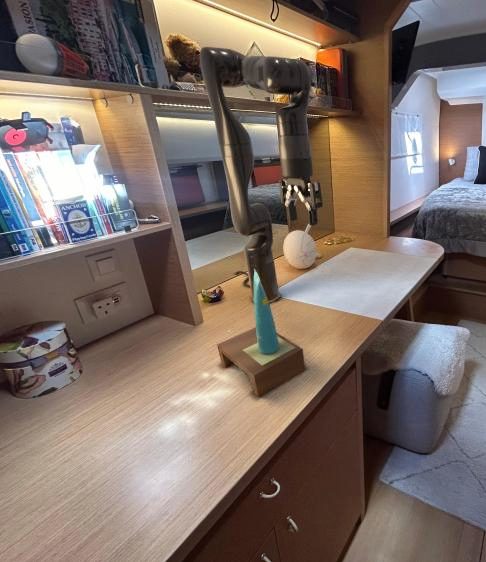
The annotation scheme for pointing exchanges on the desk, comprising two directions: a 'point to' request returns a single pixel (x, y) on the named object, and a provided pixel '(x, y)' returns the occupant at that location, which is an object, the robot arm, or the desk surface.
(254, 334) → the brown wooden table
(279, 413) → the desk surface
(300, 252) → the stuffed toy
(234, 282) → the desk surface
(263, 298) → the tube
